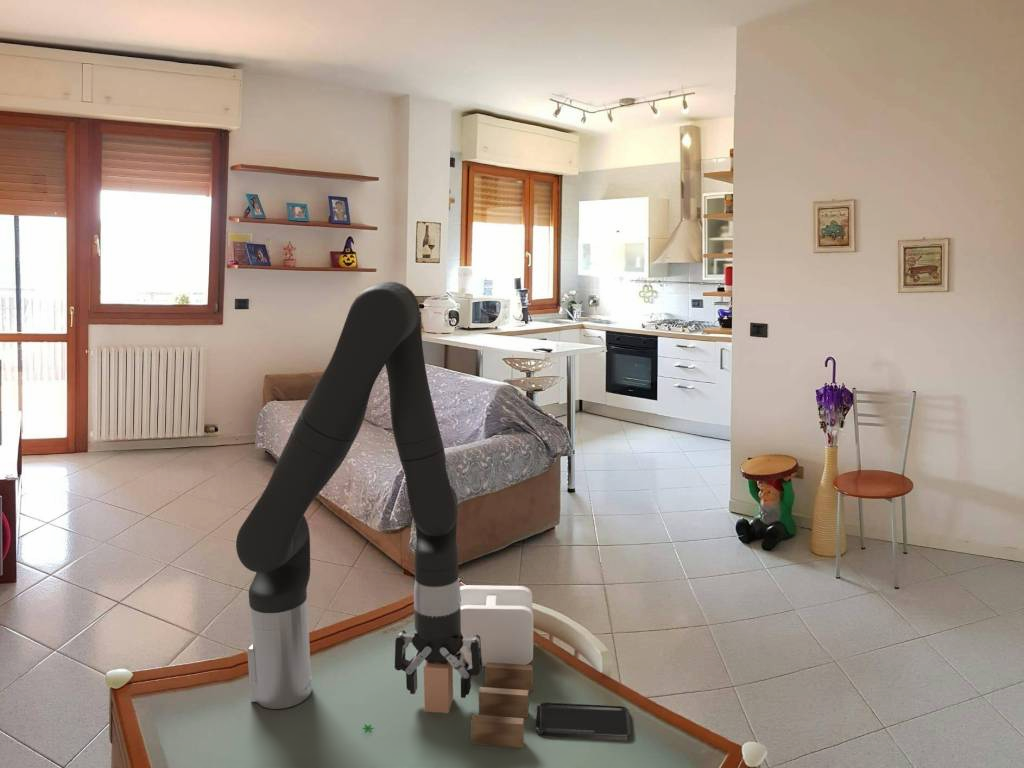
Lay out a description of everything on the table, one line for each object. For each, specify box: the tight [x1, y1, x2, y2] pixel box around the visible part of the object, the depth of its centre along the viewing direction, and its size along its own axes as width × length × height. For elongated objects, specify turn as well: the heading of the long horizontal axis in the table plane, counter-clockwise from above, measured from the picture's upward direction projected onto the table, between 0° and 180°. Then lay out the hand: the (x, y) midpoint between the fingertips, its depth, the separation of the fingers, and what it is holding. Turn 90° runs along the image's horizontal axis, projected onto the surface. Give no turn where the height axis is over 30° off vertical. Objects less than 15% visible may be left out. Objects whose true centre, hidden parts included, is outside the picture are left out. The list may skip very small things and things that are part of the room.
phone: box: [535, 702, 632, 741], centre depth 125 cm, size 8×1×15 cm
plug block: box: [423, 660, 454, 714], centre depth 129 cm, size 4×4×8 cm
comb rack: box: [470, 662, 534, 748], centre depth 127 cm, size 8×16×4 cm, turn 173°
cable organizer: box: [460, 584, 534, 667], centre depth 145 cm, size 15×11×12 cm
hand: (439, 693), depth 129 cm, fingers open, 8 cm apart
